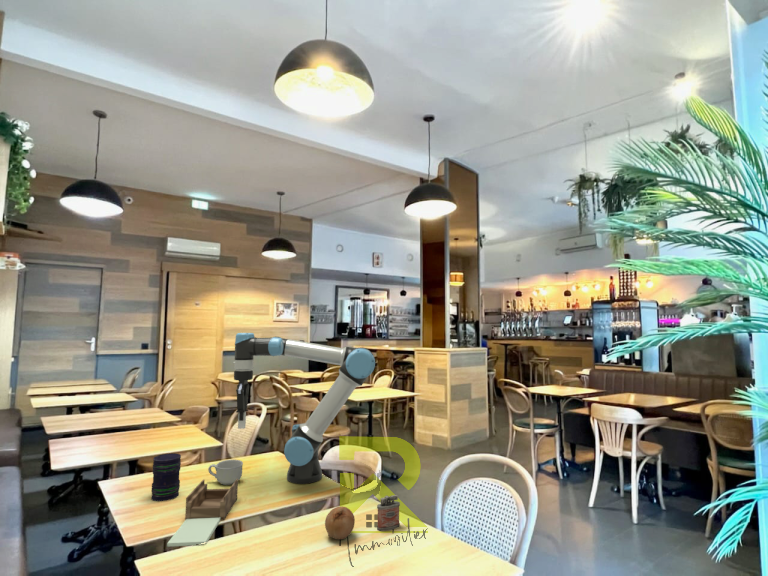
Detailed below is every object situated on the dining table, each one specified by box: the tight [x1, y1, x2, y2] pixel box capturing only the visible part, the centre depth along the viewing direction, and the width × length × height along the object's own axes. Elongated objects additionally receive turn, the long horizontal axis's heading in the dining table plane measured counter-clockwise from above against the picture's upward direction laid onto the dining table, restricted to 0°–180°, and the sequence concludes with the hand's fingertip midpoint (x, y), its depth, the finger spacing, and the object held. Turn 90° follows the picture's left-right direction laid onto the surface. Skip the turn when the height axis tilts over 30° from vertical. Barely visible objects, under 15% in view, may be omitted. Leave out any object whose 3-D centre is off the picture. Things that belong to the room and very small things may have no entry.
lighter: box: [376, 494, 401, 532], centre depth 145 cm, size 8×3×10 cm, turn 115°
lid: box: [166, 517, 222, 547], centre depth 140 cm, size 17×11×2 cm, turn 6°
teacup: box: [207, 459, 244, 486], centre depth 185 cm, size 14×11×8 cm
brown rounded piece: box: [324, 506, 356, 541], centre depth 138 cm, size 10×9×10 cm
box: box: [184, 479, 239, 521], centre depth 158 cm, size 18×13×8 cm
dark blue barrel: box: [151, 452, 182, 502], centre depth 170 cm, size 10×10×15 cm
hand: (241, 428), depth 179 cm, fingers closed
